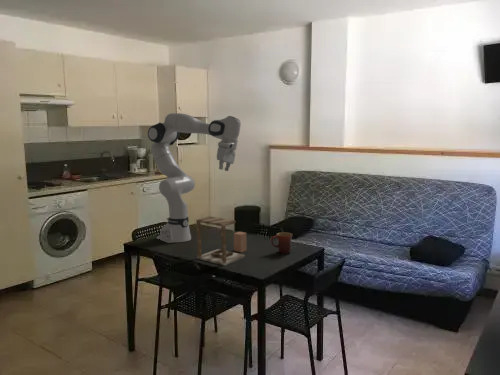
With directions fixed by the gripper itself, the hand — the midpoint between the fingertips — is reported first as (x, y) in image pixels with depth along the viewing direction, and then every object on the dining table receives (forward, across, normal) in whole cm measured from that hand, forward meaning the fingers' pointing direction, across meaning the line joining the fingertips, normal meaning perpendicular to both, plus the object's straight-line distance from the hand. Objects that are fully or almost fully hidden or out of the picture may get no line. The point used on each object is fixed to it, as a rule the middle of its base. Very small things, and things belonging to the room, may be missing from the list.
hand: (223, 170), depth 236 cm
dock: (+46, +8, +11) cm, 48 cm away
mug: (+38, -8, +40) cm, 56 cm away
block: (+42, -7, +17) cm, 46 cm away
